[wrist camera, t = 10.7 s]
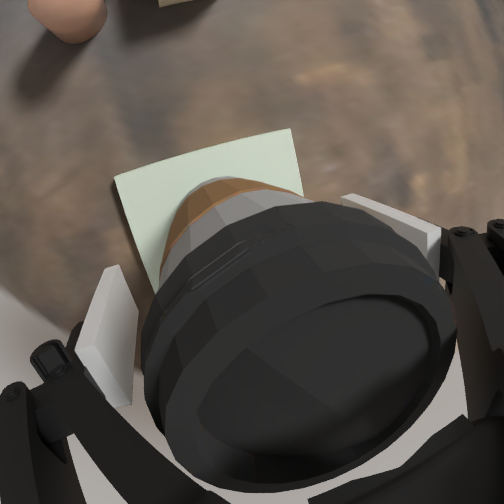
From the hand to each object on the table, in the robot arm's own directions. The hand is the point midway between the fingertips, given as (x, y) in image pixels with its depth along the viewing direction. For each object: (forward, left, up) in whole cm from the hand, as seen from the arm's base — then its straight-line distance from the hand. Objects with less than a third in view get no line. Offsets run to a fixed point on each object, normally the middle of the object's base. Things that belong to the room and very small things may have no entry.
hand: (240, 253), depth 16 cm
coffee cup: (0, 0, -5) cm, 5 cm away
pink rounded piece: (-16, -6, -5) cm, 18 cm away
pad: (+1, 0, -5) cm, 6 cm away
